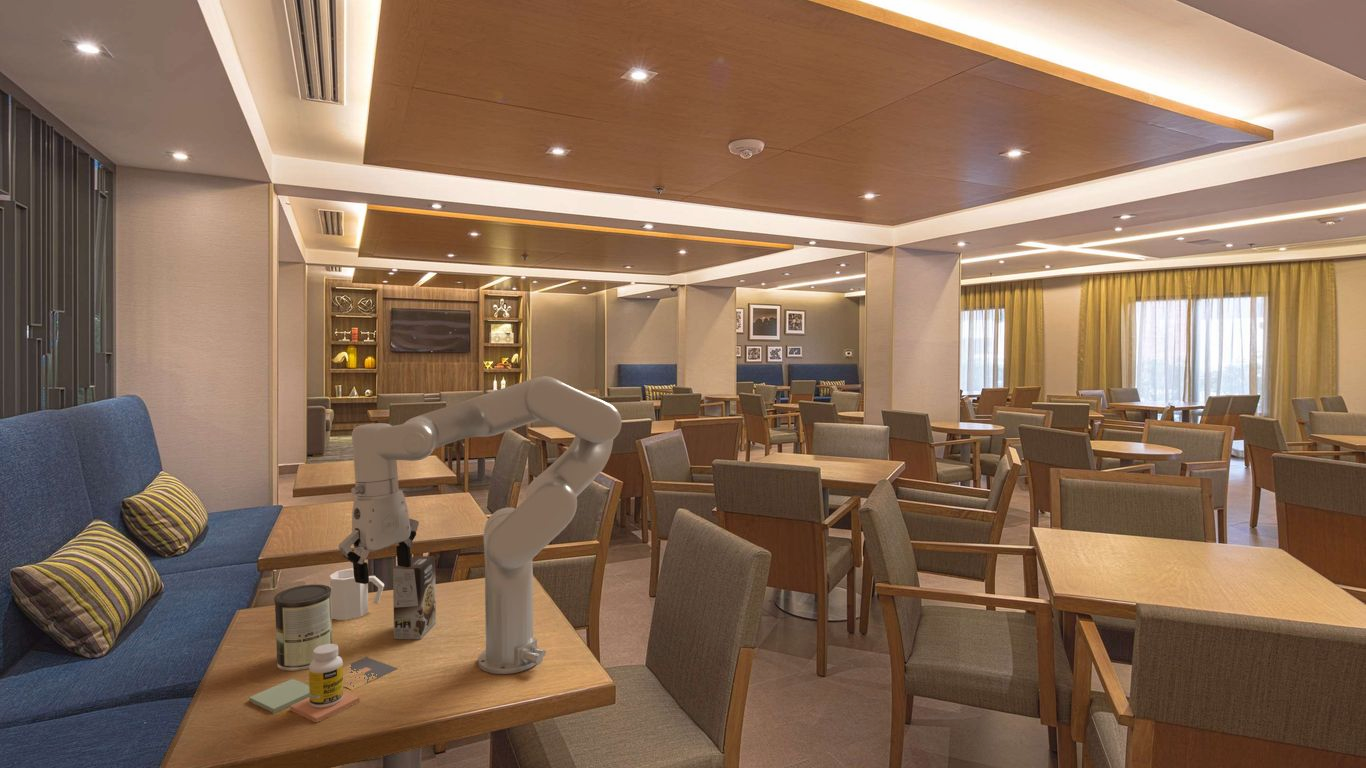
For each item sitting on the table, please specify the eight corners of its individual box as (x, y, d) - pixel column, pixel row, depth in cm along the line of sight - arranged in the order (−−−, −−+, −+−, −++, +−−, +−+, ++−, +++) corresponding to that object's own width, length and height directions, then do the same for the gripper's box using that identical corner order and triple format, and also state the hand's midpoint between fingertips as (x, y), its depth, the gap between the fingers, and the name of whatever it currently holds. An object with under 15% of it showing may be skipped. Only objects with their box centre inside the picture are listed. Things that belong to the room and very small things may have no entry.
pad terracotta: (359, 702, 125) (359, 697, 125) (317, 722, 118) (316, 718, 118) (332, 690, 129) (332, 686, 129) (290, 710, 122) (290, 706, 122)
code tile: (397, 670, 138) (397, 668, 138) (352, 692, 129) (352, 689, 129) (366, 658, 143) (366, 656, 143) (320, 678, 134) (320, 676, 134)
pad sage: (317, 693, 128) (317, 689, 128) (274, 713, 121) (273, 708, 121) (292, 682, 132) (292, 678, 132) (249, 701, 125) (249, 697, 125)
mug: (326, 622, 161) (325, 581, 160) (334, 608, 169) (333, 569, 168) (382, 616, 164) (381, 576, 163) (387, 603, 172) (386, 565, 172)
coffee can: (264, 667, 138) (261, 598, 138) (306, 645, 148) (304, 581, 147) (304, 674, 135) (301, 604, 134) (344, 652, 145) (342, 587, 144)
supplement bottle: (323, 711, 120) (322, 657, 120) (302, 704, 122) (301, 651, 122) (350, 697, 125) (348, 645, 124) (329, 691, 127) (328, 639, 127)
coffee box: (421, 639, 151) (420, 568, 150) (393, 639, 151) (391, 568, 151) (437, 623, 160) (436, 555, 159) (410, 622, 161) (408, 555, 160)
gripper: (350, 499, 123) (357, 592, 124) (426, 479, 138) (432, 562, 139) (323, 496, 126) (330, 587, 127) (401, 477, 141) (406, 558, 143)
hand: (383, 574), depth 133 cm, fingers open, 9 cm apart
